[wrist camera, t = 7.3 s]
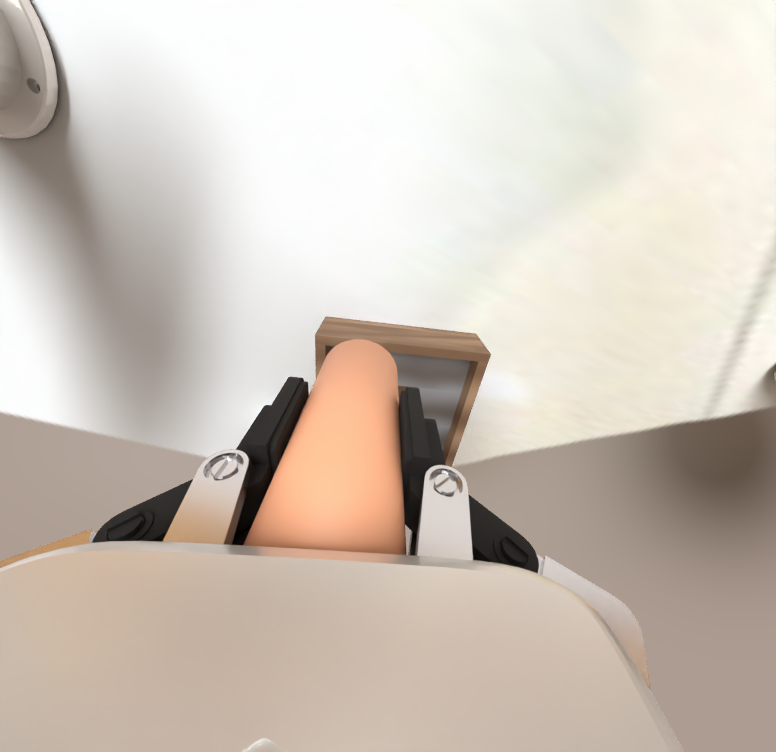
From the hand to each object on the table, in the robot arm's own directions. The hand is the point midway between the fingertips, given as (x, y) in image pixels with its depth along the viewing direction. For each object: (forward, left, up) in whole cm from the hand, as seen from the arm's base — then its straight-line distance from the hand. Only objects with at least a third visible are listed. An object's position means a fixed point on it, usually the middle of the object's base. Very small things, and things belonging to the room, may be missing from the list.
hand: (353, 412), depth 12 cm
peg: (0, 0, -3) cm, 3 cm away
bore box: (+13, +4, -22) cm, 25 cm away
